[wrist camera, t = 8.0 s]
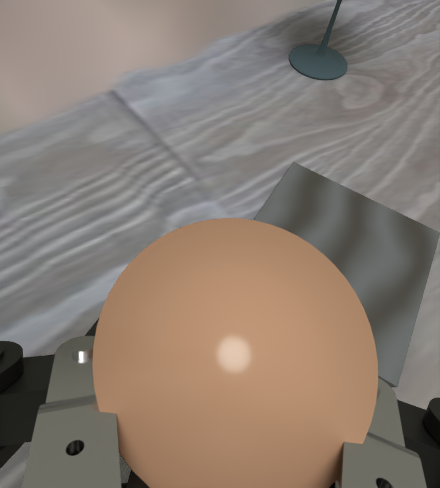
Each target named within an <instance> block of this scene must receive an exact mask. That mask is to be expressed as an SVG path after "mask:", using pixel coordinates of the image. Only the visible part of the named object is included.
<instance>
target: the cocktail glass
mask: <svg viewBox="0 0 440 488" xmlns="http://www.w3.org/2000/svg"><path fill="white" fill-rule="evenodd" d="M341 1H342V0H337V3H336V6H335V9H334V12H333V14H332V17H331V20H330V23H329V25H328V28H327V31H326V33H325V36H324V38H323V40H322V43H321V45H316V44H305V45H300V46H297V47H296V48H294V49H293V50H292V51H291V52H290V55H289V60H290V63H291V65H292V66H293V67H294V68H295V69H296V70H297V71H298V72H300V73H301V74H303V75H305V76H308V77H310V78H314V79H319V80H332V79H336V78H339V77H341V76H342V75H343V74H345V72H346V70H347V62H346V60H345V59H344V57H343V56H342V55H341V54H340V53H338V52H337V51H335V50H333V49H331V48H328V47H327V44H328V40H329V36H330V33H331V30H332V27H333V24H334V21H335V18H336V15H337V13H338V10H339V7H340V4H341Z"/></svg>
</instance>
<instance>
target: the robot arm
mask: <svg viewBox="0 0 440 488" xmlns="http://www.w3.org/2000/svg"><path fill="white" fill-rule="evenodd" d="M98 321H99V319H98V320H97V321H96V323H95V324H94V325H93V326H92V328H91V329H90V330H89V331H88V332H87V334H86V335H85V336H81V337H76V338H73V339H70V340H68V341H66V342H65V343H63V344H62V345H61V346H60V347H59V348H58V349H57V350H56V353H55V354H54V355H47V356H36V357H24V358H23V349H22V347H21V346H20V345H19V344H17V343H14V342H10V341H0V468H1V467H2V466H3V465H4V464H5V463H6V462H7V461H8V460H9V459H10V458H11V457H12V456H13V455H14V453H15V452H16V451H17V450H18V449H19V448H20V447H21V446H22V445H23V443H24V442H30V441H31V446H30V450H29V455H28V460H27V464H26V469H25V473H24V478H23V482H22V487H21V488H150V487H149V486H148V485H147V484H146V483H145V482H144V481H143V480H142V479H141V478H140V477H139V476H138V475H137V474H135V473H134V472H133V471H132V469H131V473H130V476H129V479H128V482H127V483H122V484H121V476H120V462H119V447H118V433H117V418H116V414H115V413H107V412H100V411H99V407H98V403H97V398H96V394H95V390H94V380H93V368H92V365H93V345H94V340H95V334H96V328H97V324H98ZM329 488H440V398H434V399H432V400H431V401H430V403H429V405H428V408H427V410H425V409H422V408H419V407H416V406H413V405H410V404H407V403H404V402H402V401H399V400H397V397H396V394H395V392H394V391H393V389H392V388H391V387H390V386H389V385H388V384H387V383H386V382H384V381H383V380H382V379H380V378H378V389H377V399H376V405H375V409H374V413H373V417H372V421H371V424H370V427H369V429H368V432H367V435H366V437H365V440H364V442H363V444H358V443H350V442H344V445H343V450H342V456H341V462H340V467H339V473H338V479H337V481H335V482H334V483H333V484H332V485H331V486H330V487H329Z"/></svg>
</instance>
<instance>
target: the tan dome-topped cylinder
mask: <svg viewBox="0 0 440 488" xmlns="http://www.w3.org/2000/svg"><path fill="white" fill-rule="evenodd" d="M92 368H93V380H94V390H95V394H96V398H97V403H98V407H99V411H100V412H107V413H115V414H116V418H117V433H118V447H119V453H120V455H121V456H122V457H123V459H124V460H125V461H126V463H127V464H128V465H129V467H130V468H131V469H132V471H133V472H134V473H135V474H137V475H138V476H139V477H140V478H141V479H142V480H143V481H144V482H145V483H146V484H147V485H148V486H149V487H150V488H329V487H330V486H331V485H332V484H333V483H334V482H335V481H337V479H338V473H339V467H340V462H341V456H342V450H343V445H344V442H350V443H358V444H363V442H364V440H365V437H366V435H367V432H368V429H369V427H370V424H371V421H372V417H373V413H374V409H375V405H376V399H377V389H378V360H377V353H376V346H375V341H374V337H373V333H372V330H371V326H370V323H369V321H368V318H367V315H366V313H365V310H364V308H363V306H362V304H361V302H360V300H359V298H358V296H357V294H356V293H355V291H354V290H353V288H352V287H351V285H350V284H349V282H348V281H347V279H346V278H345V277H344V275H343V274H342V273H341V272H340V271H339V269H338V268H337V267H336V266H335V265H334V264H333V263H332V262H331V261H330V260H329V259H328V258H327V257H326V256H325V255H324V254H323V253H321V252H320V251H319V250H318V249H316V248H315V247H314V246H312V245H311V244H310V243H308V242H306V241H305V240H303V239H302V238H300V237H298V236H297V235H295V234H293V233H290V232H288V231H286V230H284V229H282V228H279V227H276V226H273V225H271V224H267V223H263V222H259V221H255V220H247V219H237V218H222V219H211V220H206V221H201V222H196V223H193V224H190V225H187V226H184V227H181V228H179V229H176V230H174V231H172V232H170V233H168V234H166V235H164V236H163V237H161V238H159V239H158V240H156V241H154V242H153V243H152V244H151V245H149V246H148V247H147V248H145V249H144V250H143V251H142V252H141V253H140V254H139V255H138V256H137V257H136V258H135V259H134V260H133V261H132V262H130V263H129V265H128V266H127V267H126V269H125V270H124V271H123V272H122V274H121V275H120V276H119V278H118V279H117V281H116V283H115V284H114V286H113V288H112V289H111V291H110V293H109V295H108V297H107V299H106V302H105V304H104V306H103V308H102V311H101V315H100V318H99V321H98V324H97V328H96V334H95V340H94V345H93V365H92Z"/></svg>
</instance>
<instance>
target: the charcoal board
mask: <svg viewBox="0 0 440 488" xmlns="http://www.w3.org/2000/svg"><path fill="white" fill-rule="evenodd" d="M254 220H255V221H259V222H263V223H267V224H271V225H273V226H276V227H279V228H282V229H284V230H286V231H288V232H290V233H293V234H295V235H297V236H298V237H300V238H302V239H303V240H305V241H306V242H308V243H310V244H311V245H312V246H314V247H315V248H316V249H318V250H319V251H320V252H321V253H323V254H324V255H325V256H326V257H327V258H328V259H329V260H330V261H331V262H332V263H333V264H334V265H335V266H336V267H337V268H338V269H339V271H340V272H341V273H342V274H343V275H344V277H345V278H346V279H347V281H348V282H349V284H350V285H351V287H352V288H353V290H354V291H355V293H356V294H357V296H358V298H359V300H360V302H361V304H362V306H363V308H364V310H365V313H366V315H367V318H368V321H369V323H370V326H371V330H372V333H373V337H374V341H375V346H376V353H377V360H378V378H380V379H382V380H383V381H384V382H386V383H387V384H388V385H389V386H390V387H397V386H398V383H399V379H400V375H401V372H402V368H403V365H404V361H405V358H406V354H407V350H408V347H409V343H410V340H411V336H412V332H413V329H414V325H415V322H416V318H417V315H418V311H419V307H420V304H421V300H422V297H423V293H424V289H425V286H426V282H427V279H428V275H429V271H430V268H431V264H432V261H433V257H434V254H435V250H436V246H437V243H438V239H439V236H440V233H439V232H437V231H435V230H433V229H431V228H429V227H427V226H425V225H423V224H421V223H419V222H417V221H414V220H412V219H410V218H408V217H406V216H404V215H402V214H400V213H398V212H396V211H394V210H392V209H390V208H388V207H386V206H383V205H381V204H379V203H377V202H375V201H373V200H371V199H369V198H367V197H365V196H363V195H361V194H359V193H357V192H355V191H352V190H350V189H348V188H346V187H344V186H342V185H340V184H338V183H336V182H334V181H332V180H330V179H328V178H326V177H324V176H321V175H319V174H317V173H315V172H313V171H311V170H309V169H307V168H305V167H303V166H301V165H299V164H297V163H295V162H293V163H292V165H291V166H290V168H289V169H288V171H287V172H286V173H285V175H284V176H283V178H282V179H281V181H280V182H279V184H278V185H277V187H276V188H275V190H274V191H273V193H272V194H271V195H270V197H269V198H268V200H267V201H266V203H265V204H264V206H263V207H262V209H261V210H260V212H259V213H258V215H257V216H256V217H255V219H254Z"/></svg>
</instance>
